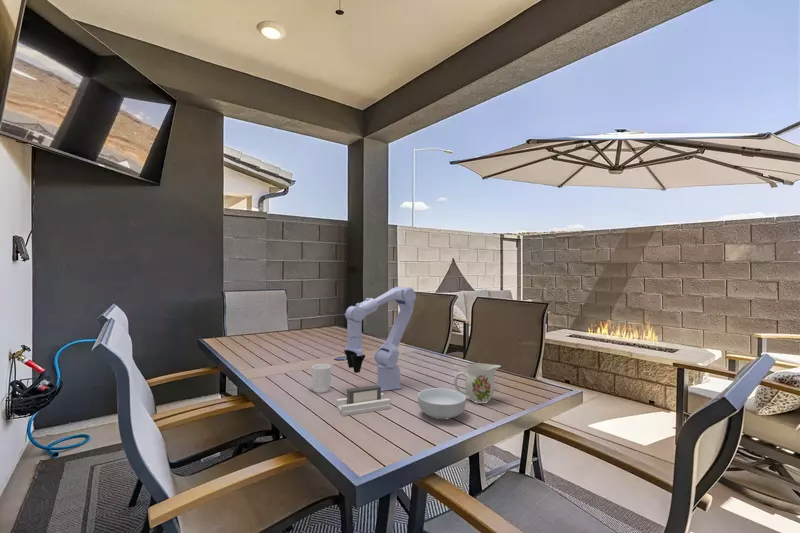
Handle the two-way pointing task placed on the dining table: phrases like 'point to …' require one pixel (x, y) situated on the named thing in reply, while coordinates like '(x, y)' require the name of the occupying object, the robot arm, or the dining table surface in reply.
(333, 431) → the dining table surface
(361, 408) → the ledge
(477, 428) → the dining table surface
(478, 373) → the pitcher
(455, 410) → the cereal bowl
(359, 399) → the grey rectangular block
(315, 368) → the white cup
